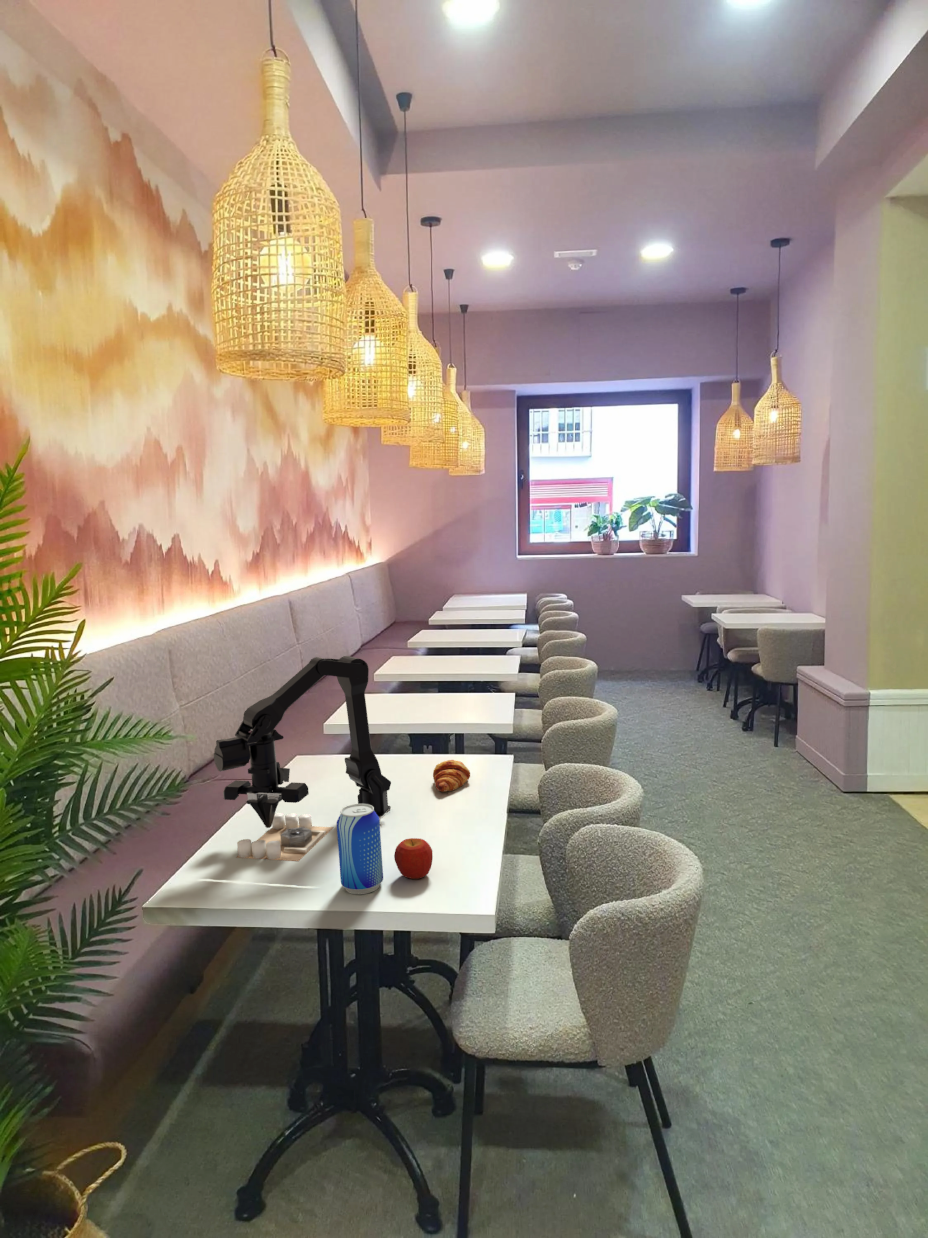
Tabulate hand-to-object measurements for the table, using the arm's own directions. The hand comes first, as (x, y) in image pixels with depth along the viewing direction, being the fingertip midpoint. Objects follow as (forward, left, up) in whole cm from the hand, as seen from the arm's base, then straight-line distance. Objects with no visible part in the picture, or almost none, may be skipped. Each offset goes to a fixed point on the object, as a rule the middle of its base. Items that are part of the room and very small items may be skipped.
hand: (268, 827), depth 188 cm
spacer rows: (-2, 0, -3) cm, 4 cm away
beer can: (-30, +18, -4) cm, 35 cm away
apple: (-39, +12, -4) cm, 41 cm away
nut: (-7, 0, -3) cm, 7 cm away
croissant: (-31, -45, -4) cm, 55 cm away
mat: (-4, 0, -4) cm, 6 cm away
